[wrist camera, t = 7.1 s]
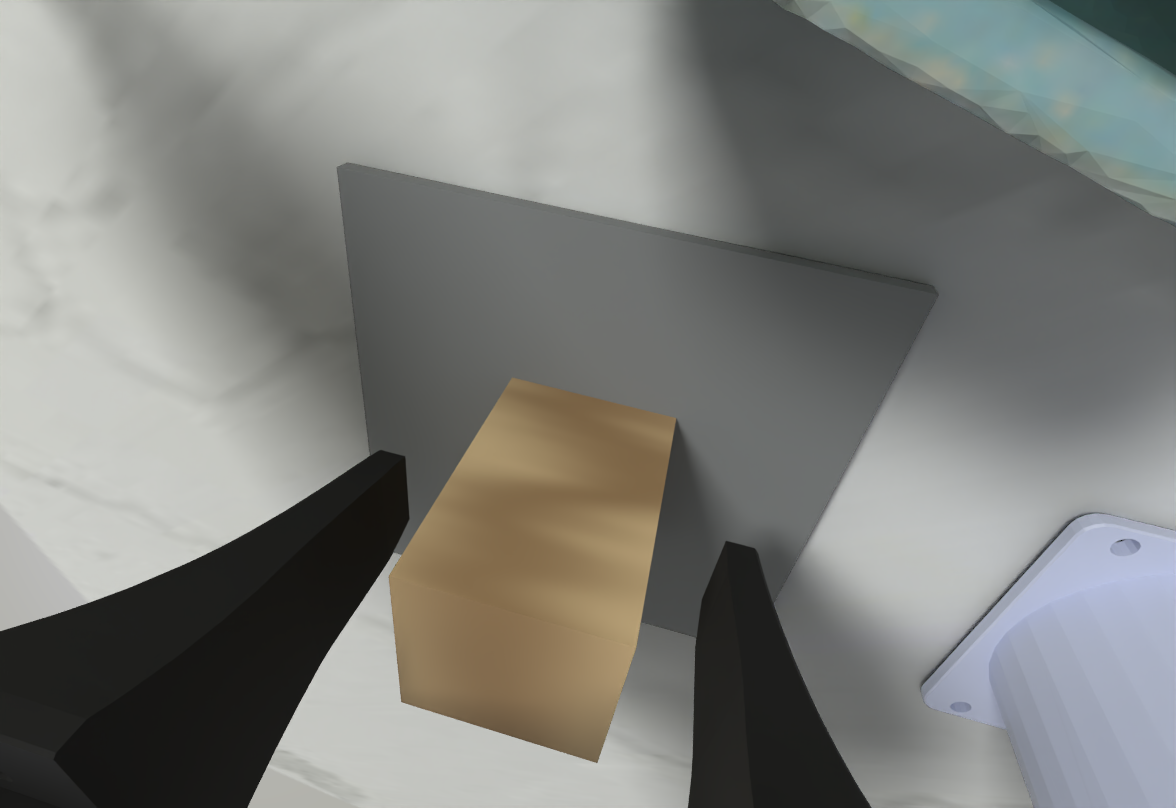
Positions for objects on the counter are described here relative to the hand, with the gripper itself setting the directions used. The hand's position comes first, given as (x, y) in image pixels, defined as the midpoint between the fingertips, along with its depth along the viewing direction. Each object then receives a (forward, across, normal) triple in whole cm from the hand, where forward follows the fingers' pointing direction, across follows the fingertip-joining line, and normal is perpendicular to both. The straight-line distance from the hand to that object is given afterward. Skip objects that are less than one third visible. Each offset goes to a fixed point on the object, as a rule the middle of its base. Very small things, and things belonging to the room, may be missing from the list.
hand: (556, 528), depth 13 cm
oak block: (+2, 0, 0) cm, 3 cm away
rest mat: (+3, 0, 0) cm, 3 cm away
